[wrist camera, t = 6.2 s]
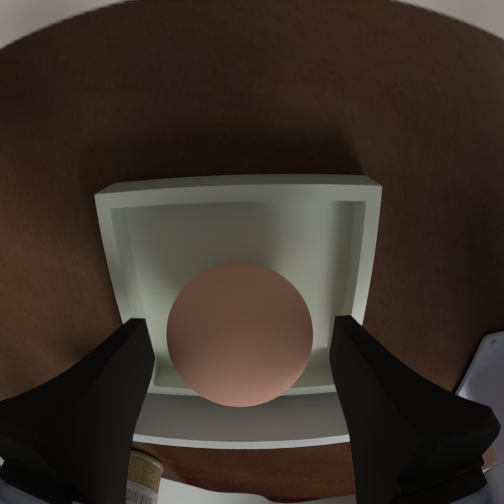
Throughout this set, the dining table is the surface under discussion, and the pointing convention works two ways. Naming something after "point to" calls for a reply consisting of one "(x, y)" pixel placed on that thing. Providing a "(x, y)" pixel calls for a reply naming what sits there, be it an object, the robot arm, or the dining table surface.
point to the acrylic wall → (242, 422)
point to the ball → (239, 334)
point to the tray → (242, 249)
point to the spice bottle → (143, 479)
